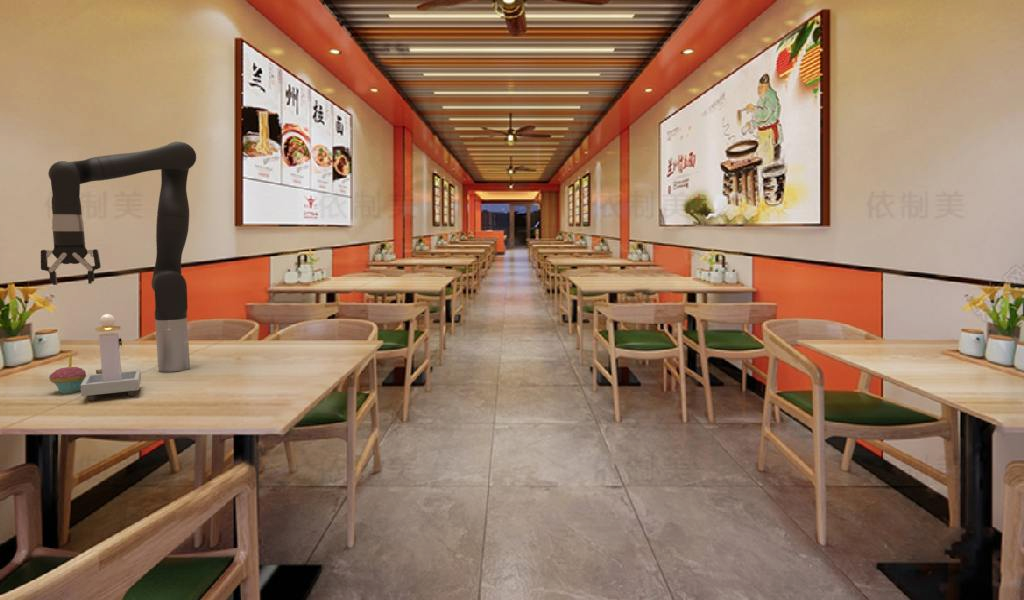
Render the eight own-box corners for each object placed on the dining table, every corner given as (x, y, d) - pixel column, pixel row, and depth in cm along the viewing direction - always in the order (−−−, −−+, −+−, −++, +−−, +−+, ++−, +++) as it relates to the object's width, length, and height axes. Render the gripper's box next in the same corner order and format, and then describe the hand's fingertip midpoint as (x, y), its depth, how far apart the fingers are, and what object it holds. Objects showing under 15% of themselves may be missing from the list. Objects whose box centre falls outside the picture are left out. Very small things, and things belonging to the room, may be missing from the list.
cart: (141, 386, 174) (140, 370, 174) (139, 396, 163) (138, 379, 163) (88, 392, 168) (86, 375, 168) (81, 403, 157) (80, 385, 156)
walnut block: (112, 380, 182) (111, 367, 182) (116, 382, 180) (115, 369, 179) (96, 382, 179) (95, 370, 179) (100, 385, 176) (99, 372, 176)
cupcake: (94, 389, 171) (91, 348, 170) (64, 396, 163) (60, 354, 162) (74, 386, 174) (70, 346, 173) (43, 393, 166) (39, 352, 165)
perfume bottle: (108, 387, 162) (102, 315, 159) (95, 385, 164) (89, 314, 162) (129, 382, 167) (123, 313, 164) (116, 380, 169) (111, 312, 167)
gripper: (98, 230, 182) (102, 282, 184) (40, 230, 175) (45, 284, 176) (96, 230, 175) (100, 284, 177) (35, 229, 168) (40, 286, 170)
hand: (72, 284), depth 177 cm, fingers open, 8 cm apart
